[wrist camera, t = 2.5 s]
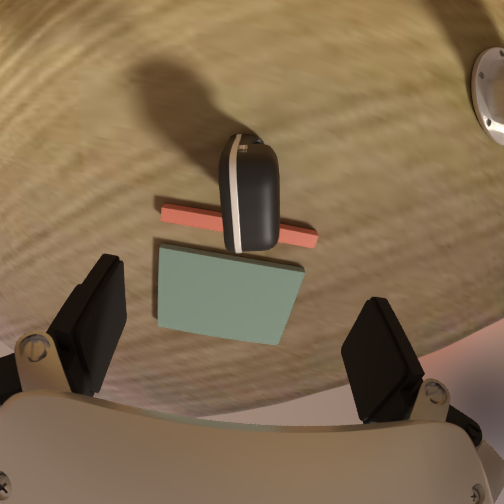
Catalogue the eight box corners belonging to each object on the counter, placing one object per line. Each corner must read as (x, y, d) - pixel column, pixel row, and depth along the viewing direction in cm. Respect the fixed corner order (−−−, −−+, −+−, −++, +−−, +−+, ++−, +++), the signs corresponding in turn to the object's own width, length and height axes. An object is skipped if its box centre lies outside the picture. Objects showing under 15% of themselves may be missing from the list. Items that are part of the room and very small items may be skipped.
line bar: (316, 230, 31) (318, 235, 30) (312, 242, 32) (314, 248, 31) (164, 203, 30) (161, 207, 29) (163, 216, 30) (160, 221, 29)
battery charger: (272, 200, 30) (283, 262, 20) (234, 201, 30) (225, 264, 20) (271, 130, 26) (283, 156, 16) (229, 132, 26) (215, 159, 16)
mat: (303, 267, 34) (305, 272, 33) (277, 339, 40) (277, 345, 39) (161, 243, 32) (159, 247, 31) (159, 321, 38) (157, 326, 37)
